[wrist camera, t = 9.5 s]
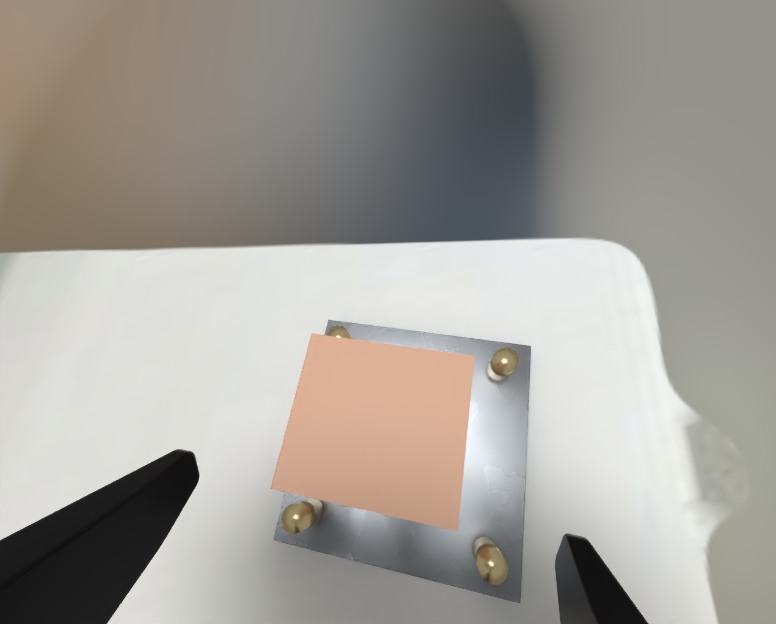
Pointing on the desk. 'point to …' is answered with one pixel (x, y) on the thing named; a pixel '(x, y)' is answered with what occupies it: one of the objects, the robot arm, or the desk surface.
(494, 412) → the standoff chassis
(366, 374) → the terracotta block
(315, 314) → the desk surface
